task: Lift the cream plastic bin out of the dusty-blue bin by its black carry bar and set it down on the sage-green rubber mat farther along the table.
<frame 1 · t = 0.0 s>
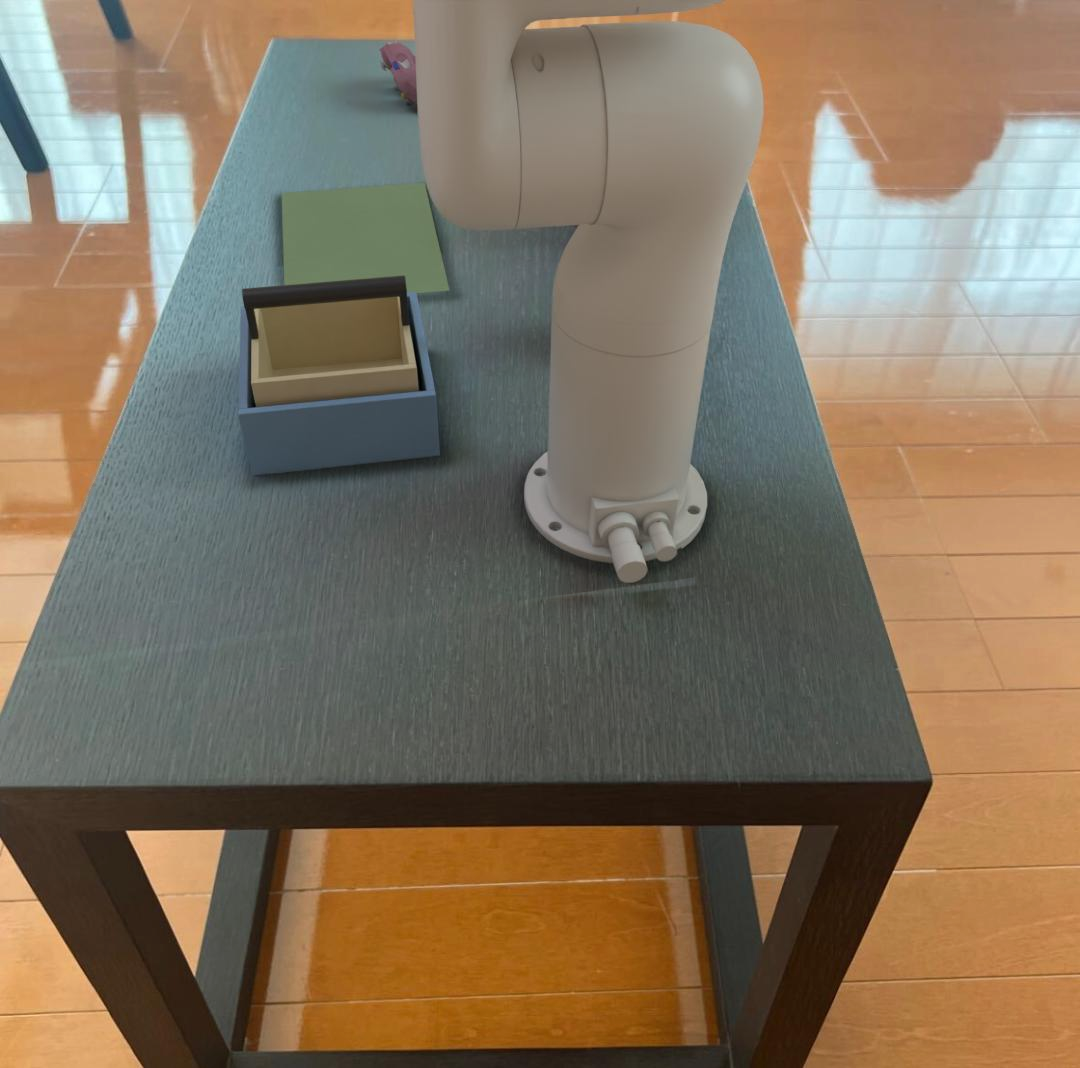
blue bin: (343, 414, 81), on the table
cream bin: (342, 408, 80), point 1 cm above the table, touching blue bin
mat: (361, 244, 99), on the table
pink curved piece: (413, 99, 122), on the table
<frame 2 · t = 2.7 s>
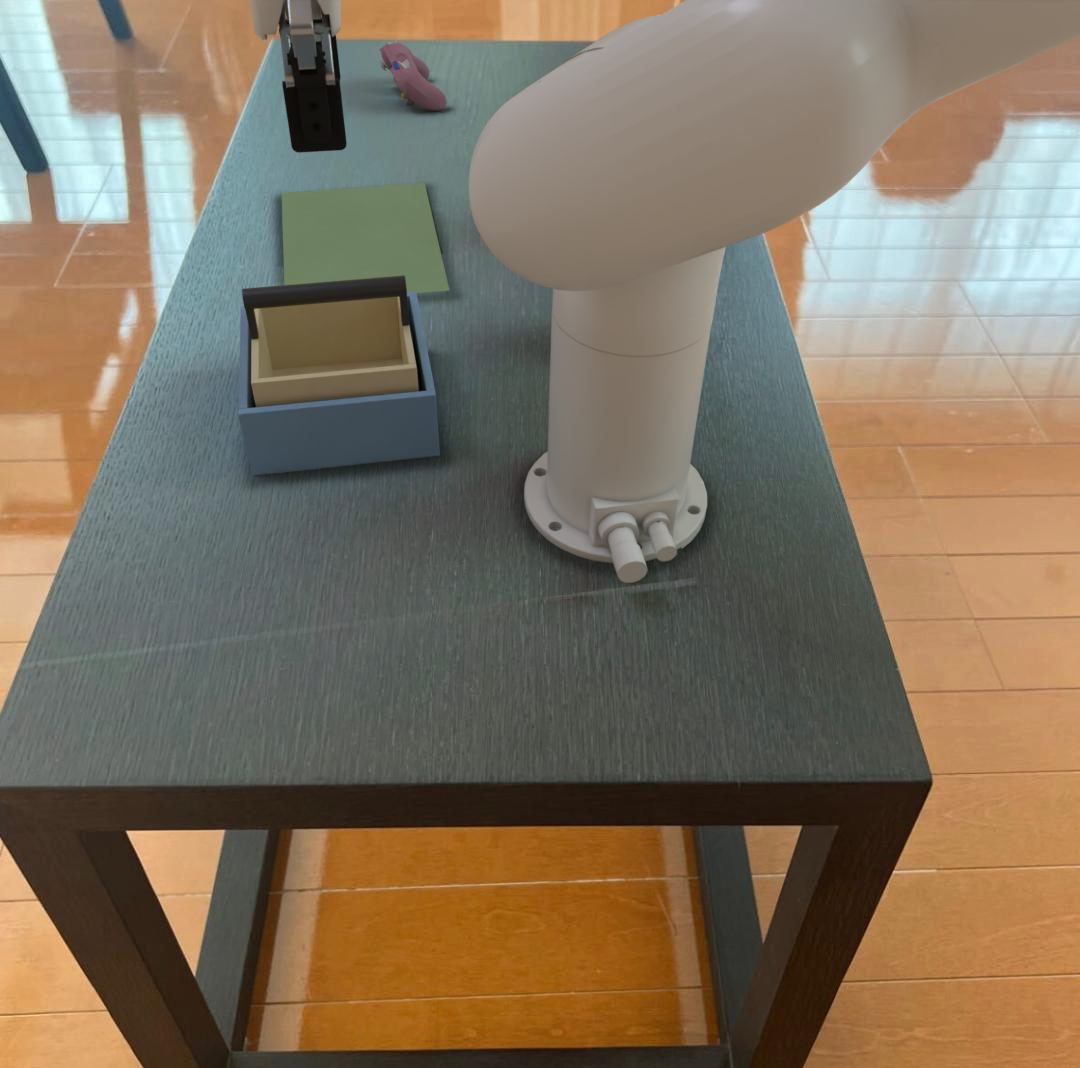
hand: (318, 114, 67), 22 cm above the table, tool pointing down, fingers open, 9 cm apart
nothing on the table moved.
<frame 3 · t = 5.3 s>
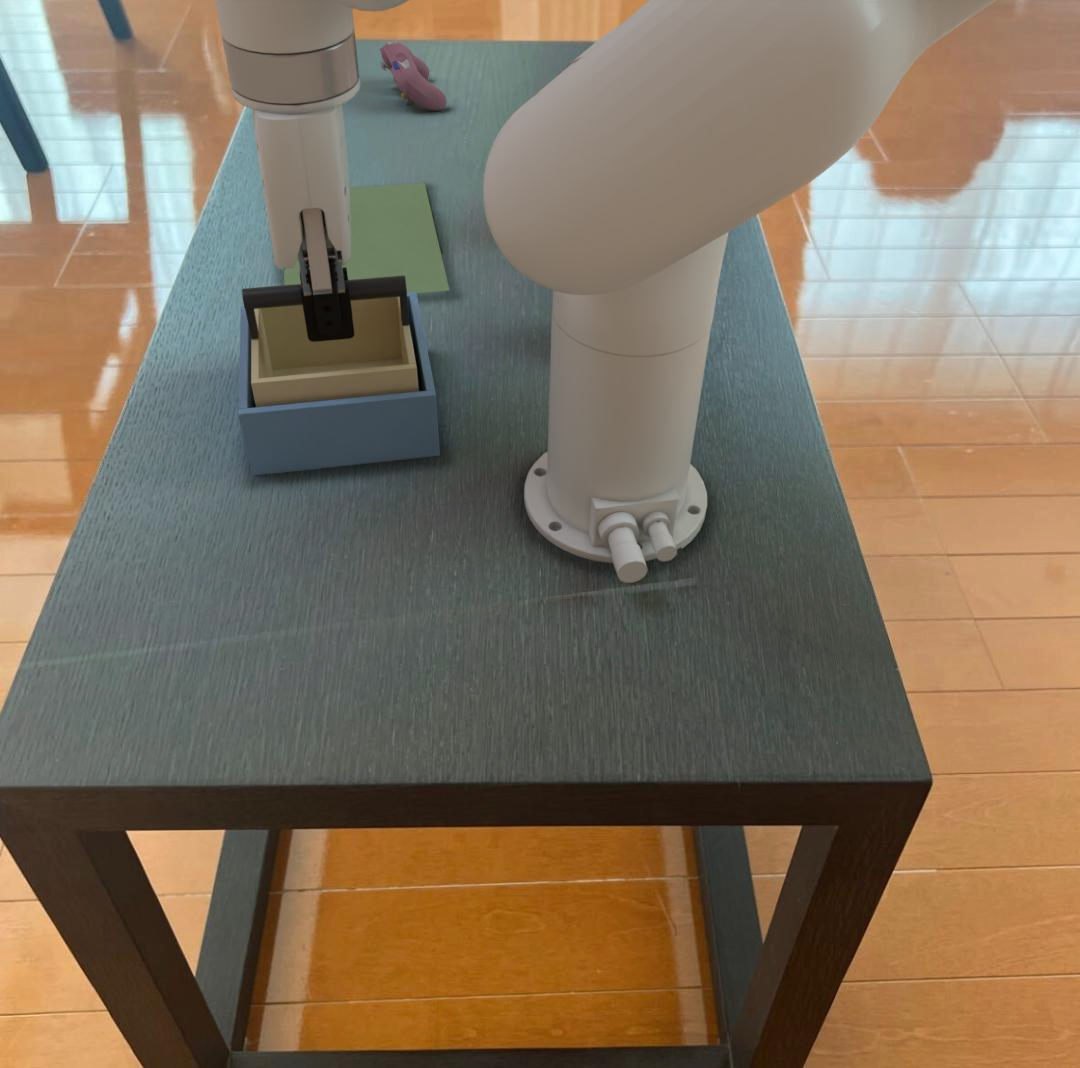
hand: (330, 327, 75), 8 cm above the table, tool pointing down, fingers closed on cream bin
cream bin: (342, 408, 80), point 1 cm above the table, touching blue bin, gripper
everything else where it was.
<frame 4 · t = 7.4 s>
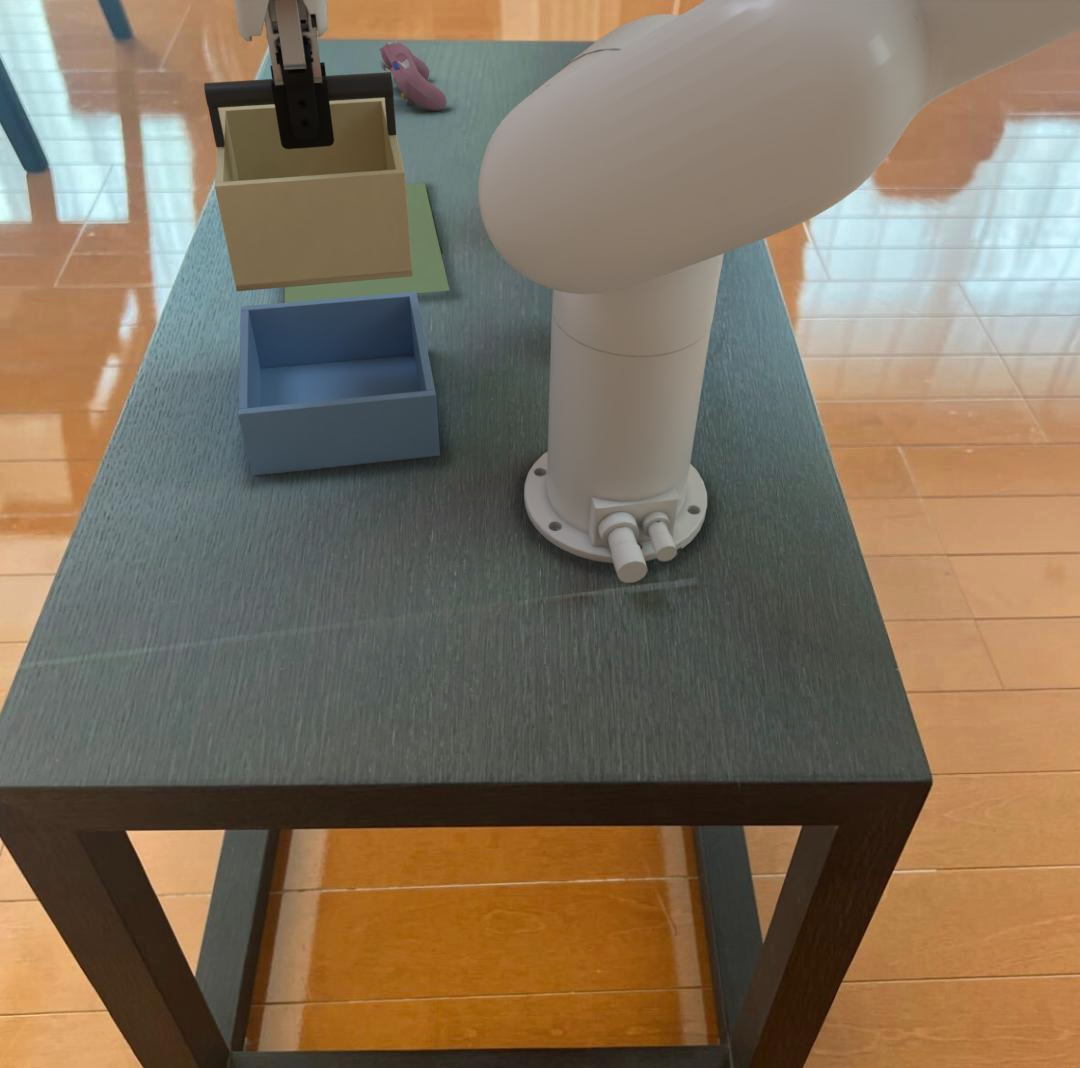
hand: (307, 136, 66), 21 cm above the table, tool pointing down, fingers closed on cream bin
cream bin: (321, 240, 71), point 14 cm above the table, touching gripper
everything else where it was.
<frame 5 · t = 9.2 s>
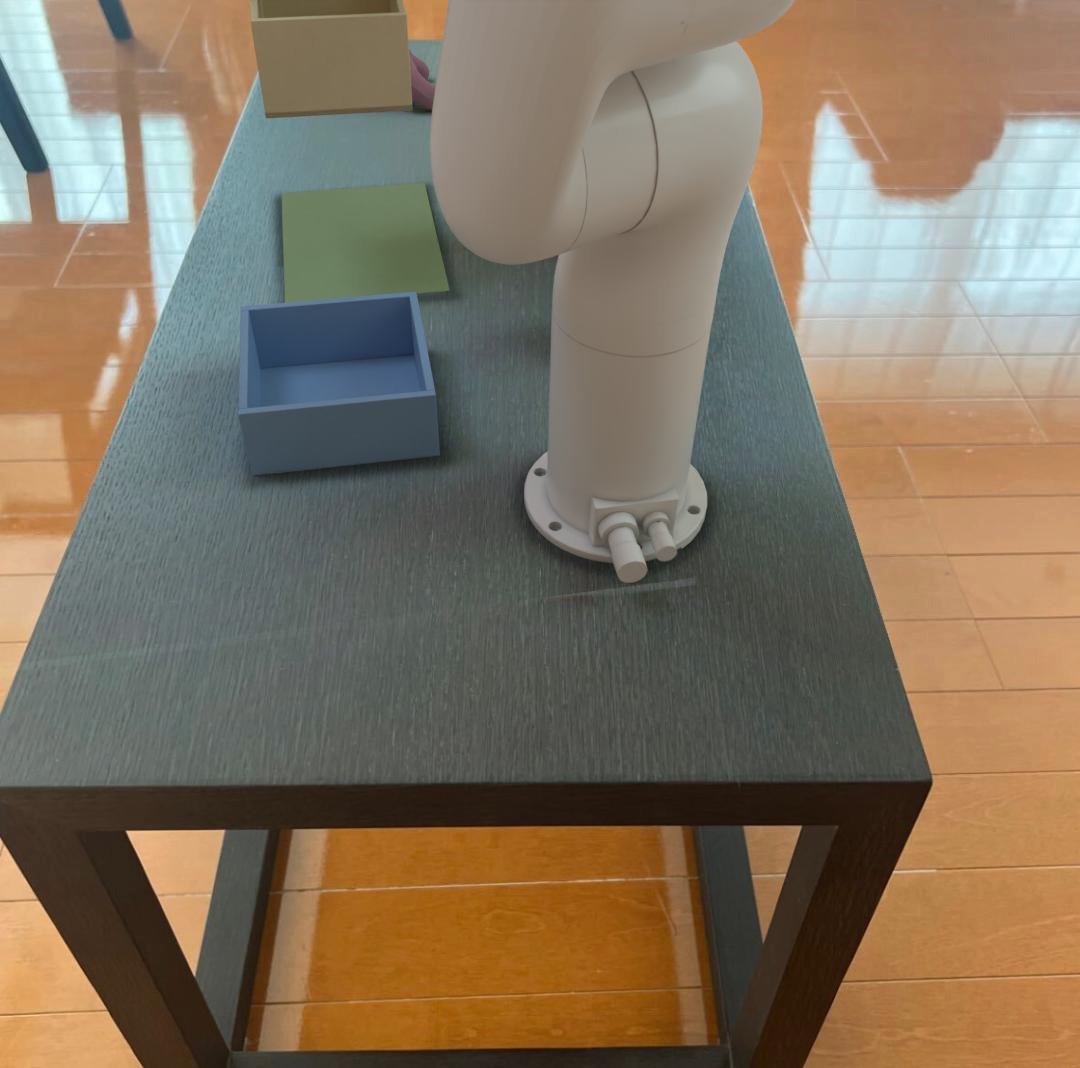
cream bin: (336, 85, 85), point 16 cm above the table, touching gripper
everything else where it was.
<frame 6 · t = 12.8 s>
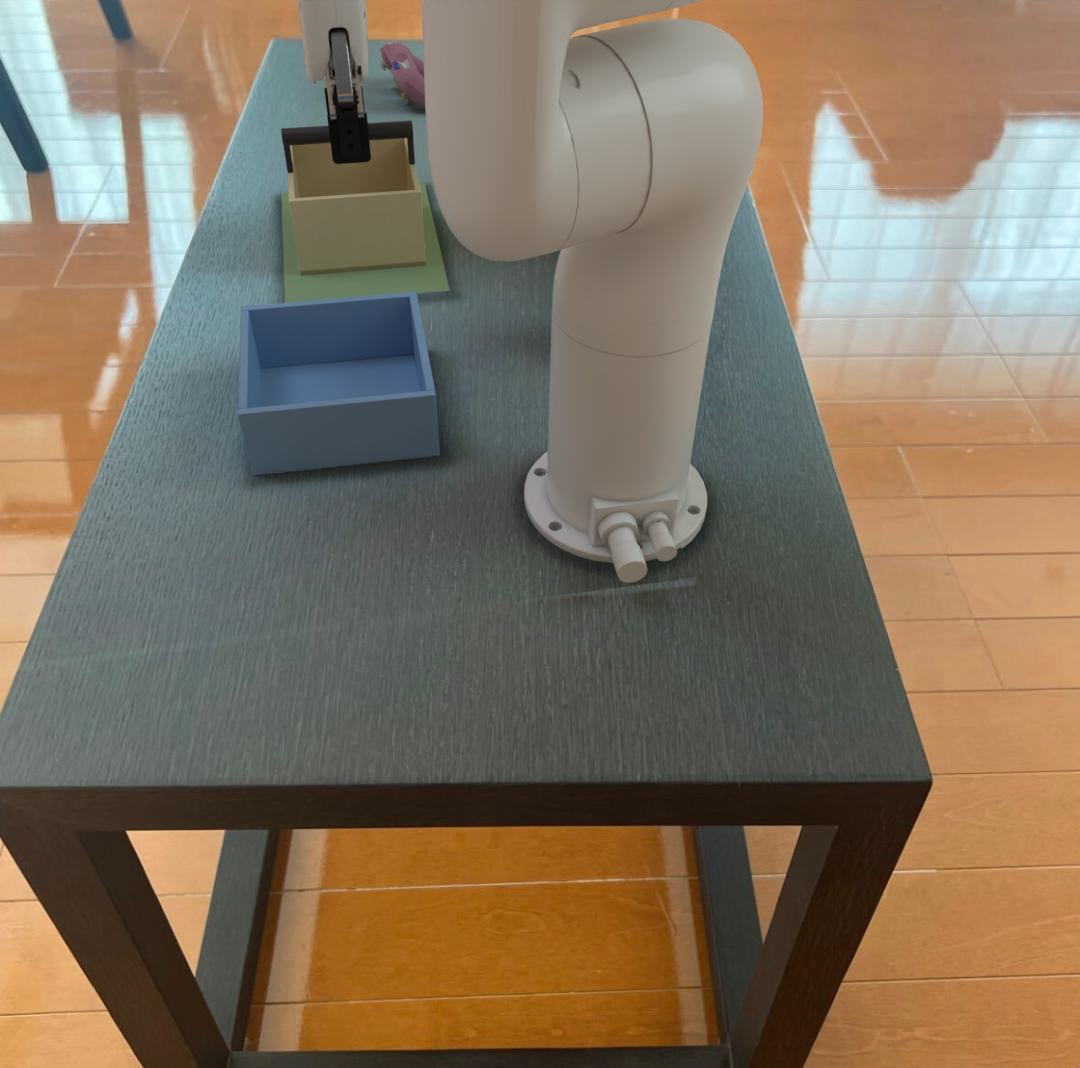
hand: (350, 145, 92), 9 cm above the table, tool pointing down, fingers open, 4 cm apart
cream bin: (359, 239, 98), point 1 cm above the table, touching mat
everything else where it was.
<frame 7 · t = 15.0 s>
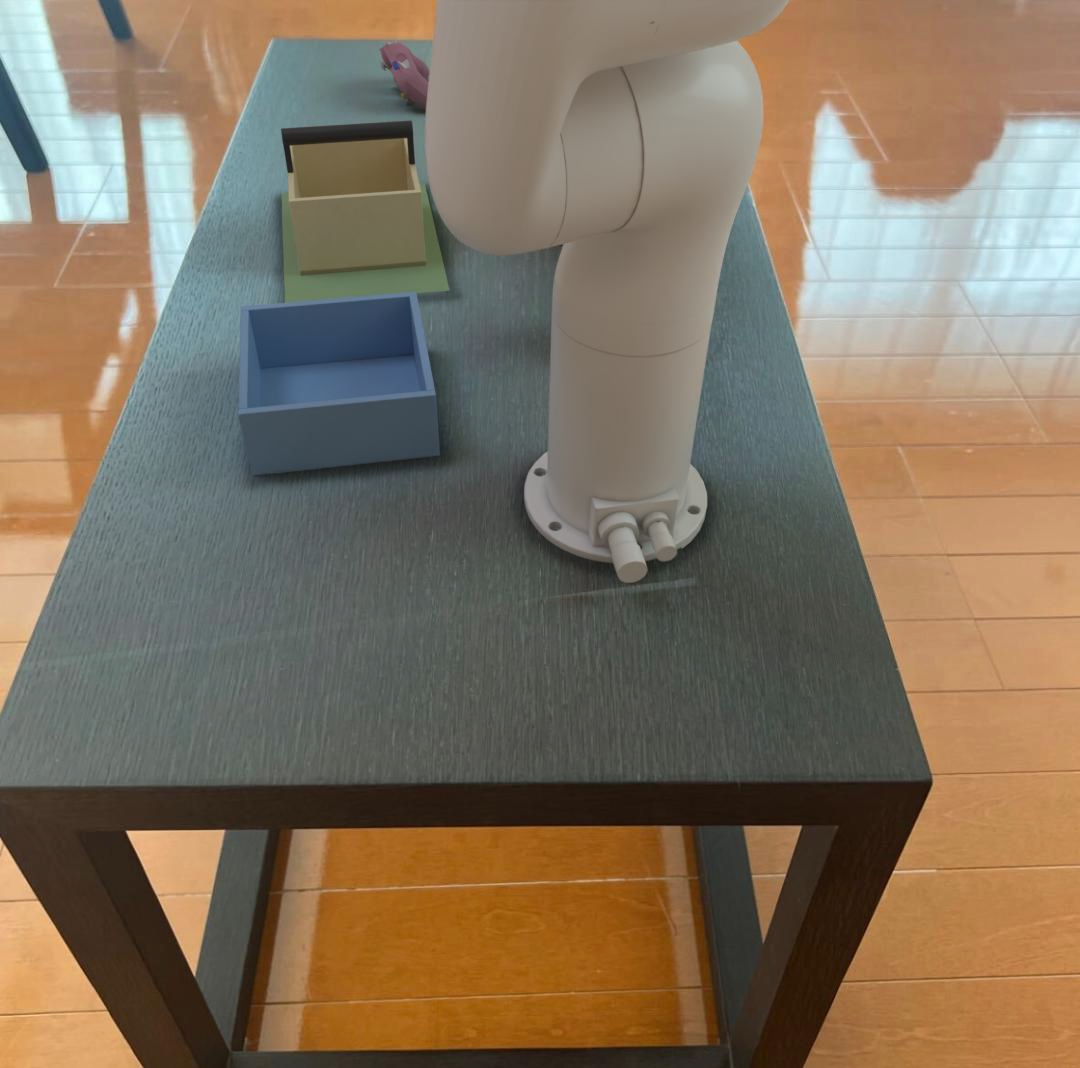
nothing on the table moved.
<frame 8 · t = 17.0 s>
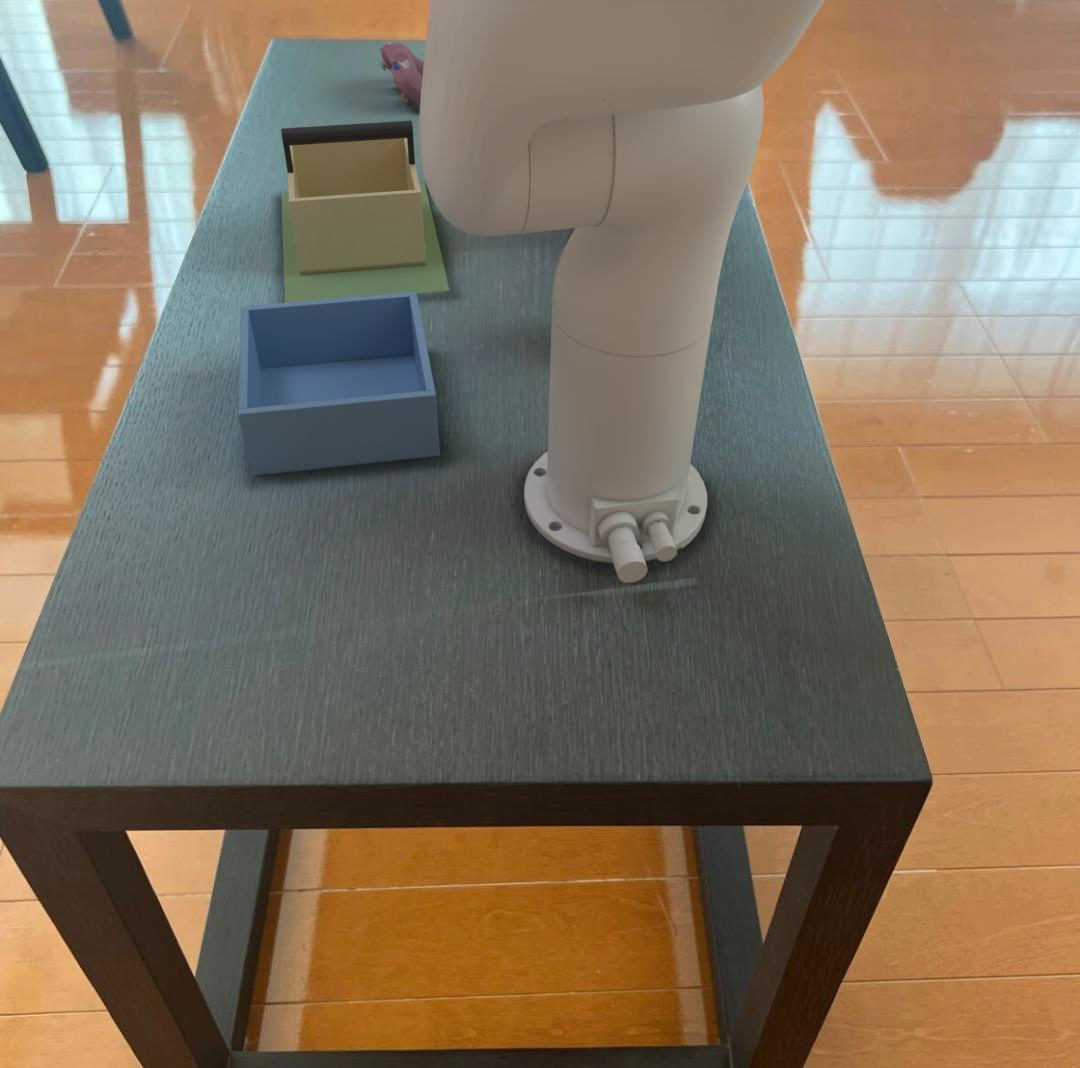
nothing on the table moved.
at the end: cream bin inside the target area on the mat (0.1 cm from its centre), point 0.6 cm above the mat's base; cream bin touching mat; cream bin tilted 0° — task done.
